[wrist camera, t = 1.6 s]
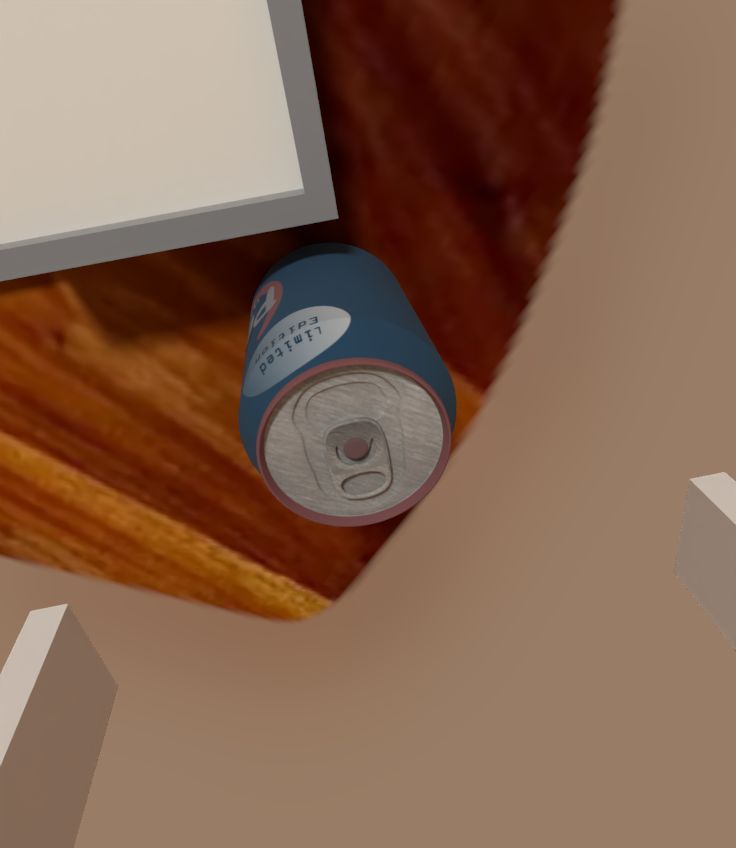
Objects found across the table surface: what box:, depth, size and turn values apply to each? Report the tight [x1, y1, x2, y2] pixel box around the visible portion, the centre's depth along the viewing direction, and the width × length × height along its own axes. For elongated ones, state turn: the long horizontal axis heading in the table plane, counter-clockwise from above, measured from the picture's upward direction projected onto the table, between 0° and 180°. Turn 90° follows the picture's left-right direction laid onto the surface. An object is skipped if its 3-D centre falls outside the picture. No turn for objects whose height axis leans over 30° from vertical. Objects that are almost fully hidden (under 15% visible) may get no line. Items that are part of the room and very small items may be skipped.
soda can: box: [239, 242, 456, 527], centre depth 22 cm, size 7×7×12 cm
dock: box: [0, 0, 338, 281], centre depth 19 cm, size 15×12×5 cm
